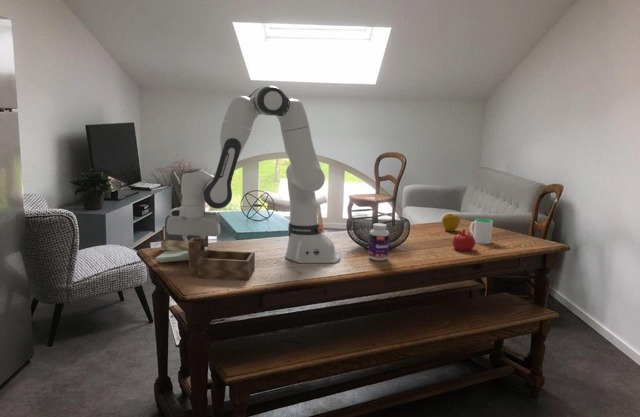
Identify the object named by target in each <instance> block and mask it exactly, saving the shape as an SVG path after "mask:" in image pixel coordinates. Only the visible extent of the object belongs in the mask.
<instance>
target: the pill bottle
mask: <svg viewBox="0 0 640 417" xmlns="http://www.w3.org/2000/svg"><path fill="white" fill-rule="evenodd" d="M387 228H388V225H387V224H385V223H380V222H378V223H377V222H376V223H373V224H372V229H371V230H370V231H369V235H368V237H369V238H368V239H369V240H368V254H367V255H368V256H367V257H368V258H369V260H373V261H377V262H378V261H380V262H382V261H386V260H387V259H388V258H389V245H390V244H389V243H390V232H389V230H387Z"/></svg>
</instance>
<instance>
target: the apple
mask: <svg viewBox="0 0 640 417" xmlns="http://www.w3.org/2000/svg"><path fill="white" fill-rule="evenodd" d="M459 224H460V217H459V216H458V215H456V214H453V213H446V214H444V215H443V217H442V225H443V228H444V230H445V231H447V232H454V231H455V230H457V228H458V227H459Z"/></svg>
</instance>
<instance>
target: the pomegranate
mask: <svg viewBox="0 0 640 417" xmlns="http://www.w3.org/2000/svg"><path fill="white" fill-rule="evenodd" d="M451 243H452V246H453V249H455V250H456V251H459V252H469V251H471V250H473V249H474V247H475V245H476V242H475V239H474V236H473V235H472V234H471V233H470V231H469V232H468V231H467V232H466V229H462V232H460V231H457V232H456V235H455V236H454V237H453V239H452V241H451Z"/></svg>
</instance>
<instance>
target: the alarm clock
mask: <svg viewBox="0 0 640 417" xmlns="http://www.w3.org/2000/svg"><path fill="white" fill-rule="evenodd" d="M169 217H170V216H169V214H168V215H167V216H166V217H165V219H164V222H165V223H164V225H165V226H164V228H165V230H164V232H165V240H174V241H184V240H183V238H182V235H173V234H168V233H167V220H168V218H169ZM186 238H187V239H188V241H189V240H190V239H192V238H200V236H194V235H187V237H186ZM201 239H202V238H201ZM205 247H208V248H209V236H205Z"/></svg>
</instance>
